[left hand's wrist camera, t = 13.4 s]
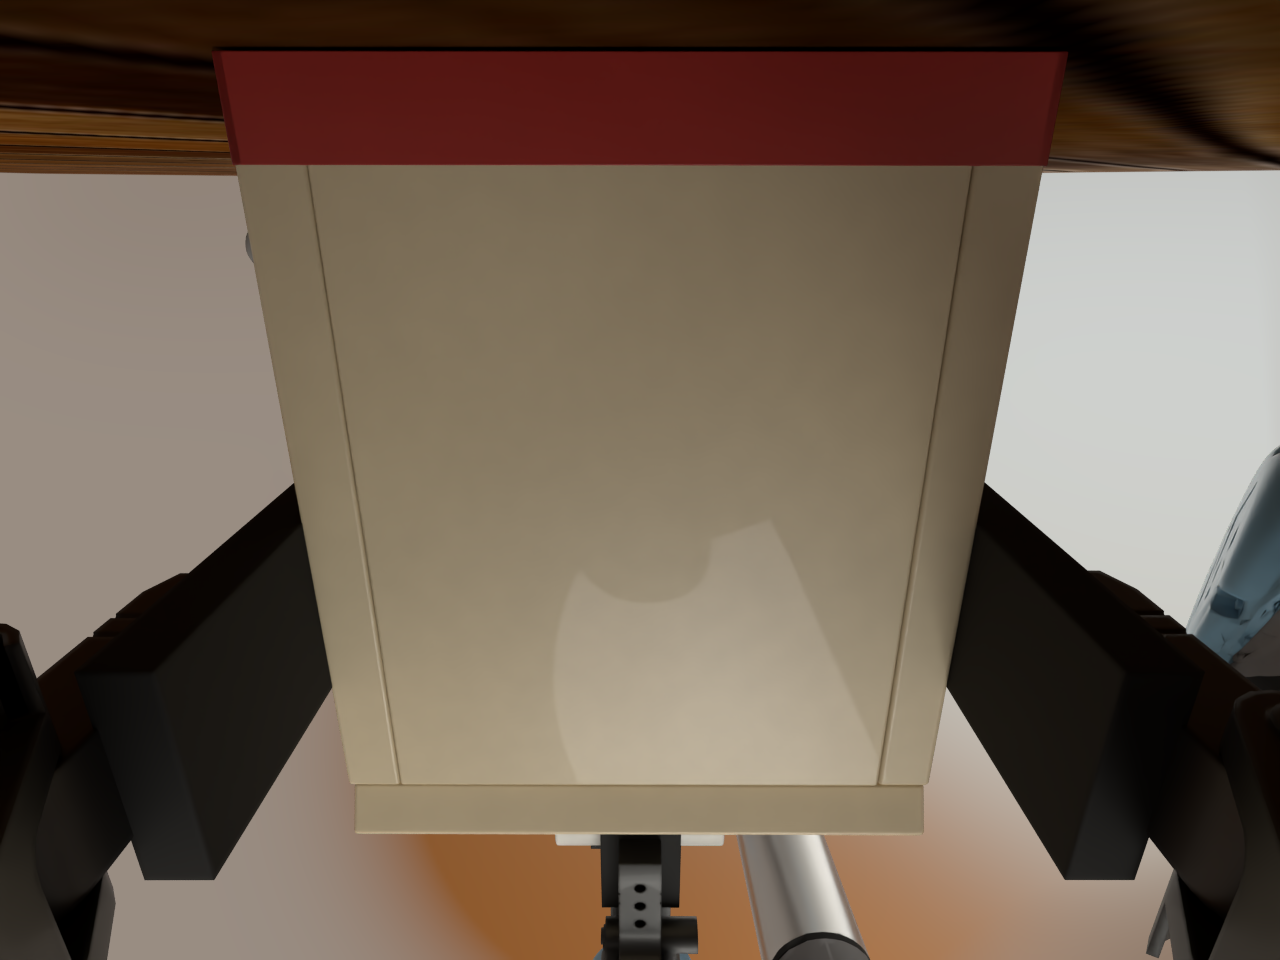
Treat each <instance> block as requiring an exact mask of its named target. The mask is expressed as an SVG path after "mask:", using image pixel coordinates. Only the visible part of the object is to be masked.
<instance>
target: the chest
mask: <svg viewBox="0 0 1280 960" xmlns="http://www.w3.org/2000/svg"><path fill="white" fill-rule="evenodd" d="M212 56H213V62H214V67H215V72H216V78H217V83H218V89H219V94H220V99H221V105H222V110H223V116H224V121H225V126H226V132H227V137H228V142H229V148H230V153H231V159H232V164H233V165H236V169H237V175H238V180H239V186H240V191H241V196H242V202H243V207H244V213H245V218H246V223H247V229H248V234H249V240H250V245H251V251H252V256H253V262H254V267H255V272H256V278H257V283H258V289H259V294H260V300H261V305H262V310H263V316H264V321H265V326H266V332H267V337H268V343H269V348H270V354H271V359H272V365H273V370H274V376H275V381H276V386H277V392H278V397H279V403H280V408H281V413H282V419H283V424H284V430H285V435H286V440H287V446H288V452H289V457H290V462H291V468H292V473H293V478H294V484H295V490H296V495H297V500H298V506H299V511H300V517H301V522H302V525H303V531H304V536H305V541H306V547H307V552H308V558H309V563H310V568H311V574H312V579H313V585H314V590H315V595H316V601H317V606H318V612H319V617H320V622H321V628H322V633H323V639H324V644H325V649H326V655H327V660H328V666H329V671H330V676H331V682H332V690H333V695H334V701H335V706H336V712H337V717H338V723H339V728H340V734H341V739H342V745H343V750H344V755H345V761H346V766H347V772H348V777H349V782H350V783H351V784H399V783H400V781H401V783H402V784H486V785H877V782H879V783H880V784H882V785H926V784H927V783H928V782H929V777H930V771H931V766H932V761H933V755H934V750H935V745H936V739H937V734H938V729H939V723H940V718H941V712H942V707H943V702H944V696H945V691H946V686H947V680H948V675H949V669H950V664H951V659H952V653H953V648H954V643H955V637H956V632H957V626H958V621H959V616H960V610H961V605H962V600H963V594H964V589H965V583H966V578H967V573H968V567H969V562H970V557H971V551H972V546H973V540H974V535H975V530H976V524H977V519H978V514H979V508H980V503H981V497H982V492H983V487H984V481H985V476H986V471H987V465H988V460H989V454H990V449H991V444H992V438H993V433H994V428H995V422H996V417H997V411H998V406H999V401H1000V395H1001V390H1002V385H1003V379H1004V373H1005V368H1006V363H1007V358H1008V352H1009V347H1010V342H1011V336H1012V331H1013V325H1014V320H1015V314H1016V309H1017V304H1018V298H1019V293H1020V288H1021V282H1022V277H1023V272H1024V266H1025V261H1026V256H1027V250H1028V245H1029V239H1030V234H1031V229H1032V223H1033V218H1034V213H1035V207H1036V202H1037V196H1038V191H1039V186H1040V180H1041V175H1042V170H1043V166H1047V164H1048V158H1049V153H1050V148H1051V142H1052V137H1053V132H1054V126H1055V121H1056V116H1057V110H1058V105H1059V100H1060V94H1061V89H1062V84H1063V79H1064V73H1065V68H1066V63H1067V57H1068V52H1067V51H212Z"/></svg>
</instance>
